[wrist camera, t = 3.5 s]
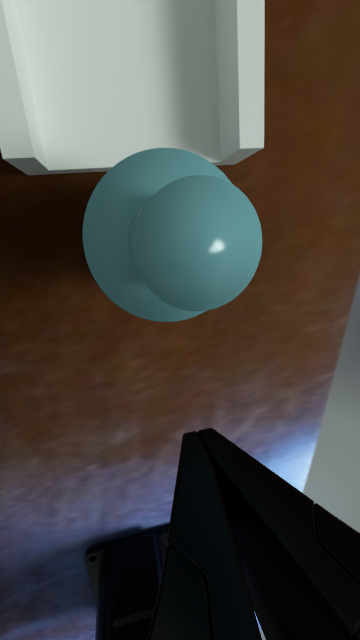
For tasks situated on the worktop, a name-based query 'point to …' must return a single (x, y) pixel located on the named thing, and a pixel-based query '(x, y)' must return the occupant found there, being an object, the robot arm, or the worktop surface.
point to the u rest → (129, 81)
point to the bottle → (170, 235)
